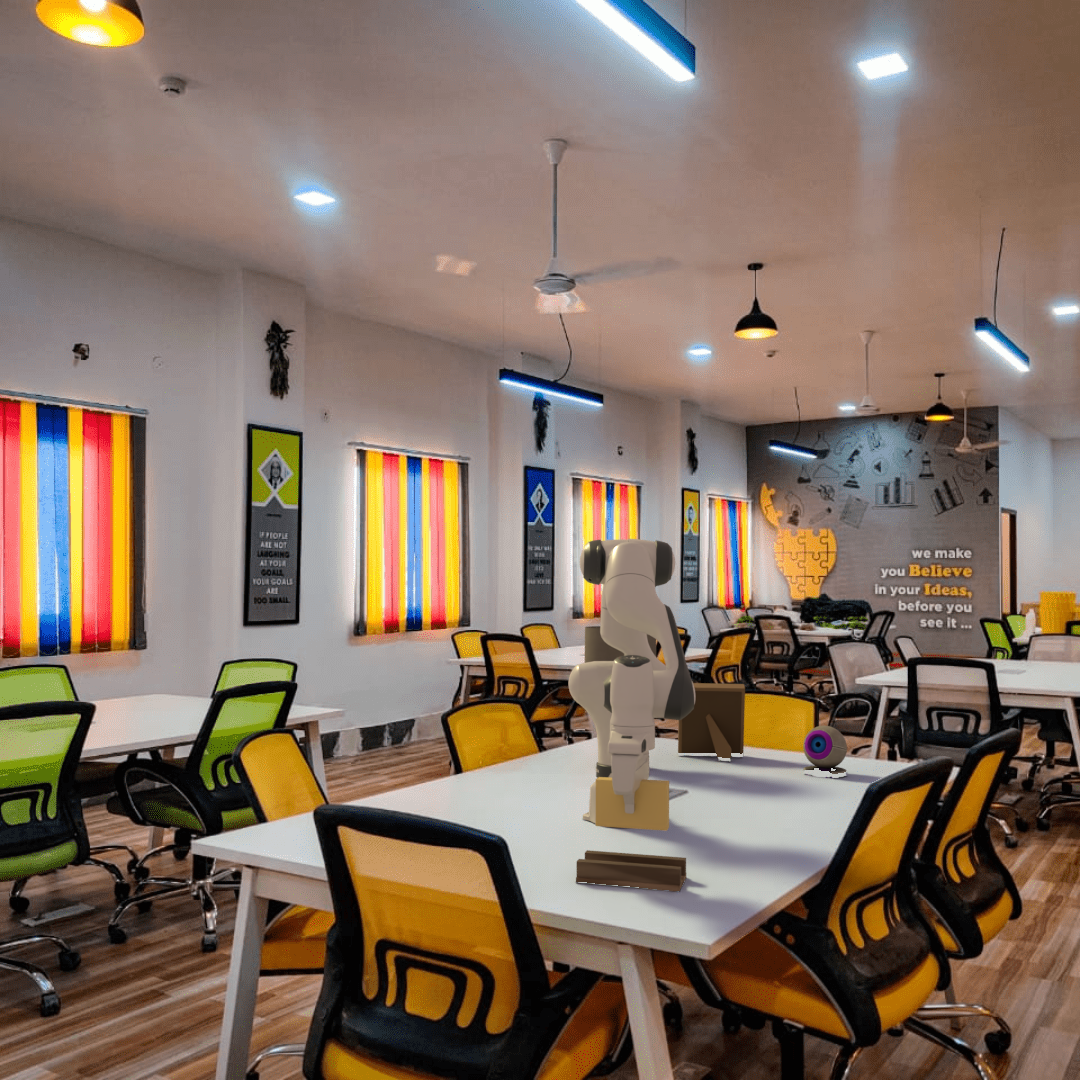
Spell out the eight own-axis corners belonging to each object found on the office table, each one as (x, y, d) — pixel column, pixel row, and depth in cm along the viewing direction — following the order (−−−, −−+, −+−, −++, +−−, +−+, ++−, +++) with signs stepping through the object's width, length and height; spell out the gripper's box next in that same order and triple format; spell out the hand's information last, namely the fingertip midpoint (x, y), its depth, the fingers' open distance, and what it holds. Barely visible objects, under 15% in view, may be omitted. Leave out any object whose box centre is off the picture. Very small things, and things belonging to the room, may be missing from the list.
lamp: (579, 762, 342) (579, 626, 344) (647, 761, 345) (647, 626, 347) (590, 774, 320) (590, 628, 322) (663, 773, 322) (663, 628, 324)
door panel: (598, 822, 207) (598, 776, 208) (669, 827, 204) (669, 780, 204) (595, 825, 205) (595, 779, 205) (666, 830, 201) (666, 783, 201)
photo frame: (677, 754, 360) (678, 681, 361) (742, 755, 358) (742, 682, 358) (679, 761, 345) (679, 685, 346) (746, 763, 343) (746, 687, 344)
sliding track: (587, 869, 211) (587, 849, 211) (686, 877, 206) (686, 857, 206) (575, 883, 202) (575, 862, 202) (679, 891, 196) (679, 870, 197)
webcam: (796, 774, 322) (796, 725, 322) (815, 769, 331) (814, 722, 332) (836, 780, 313) (835, 729, 314) (854, 774, 323) (853, 725, 324)
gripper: (626, 731, 216) (626, 799, 215) (606, 745, 196) (605, 820, 195) (656, 733, 214) (656, 801, 213) (639, 747, 195) (639, 822, 194)
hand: (632, 810), depth 204 cm, fingers closed on door panel, 3 cm apart
